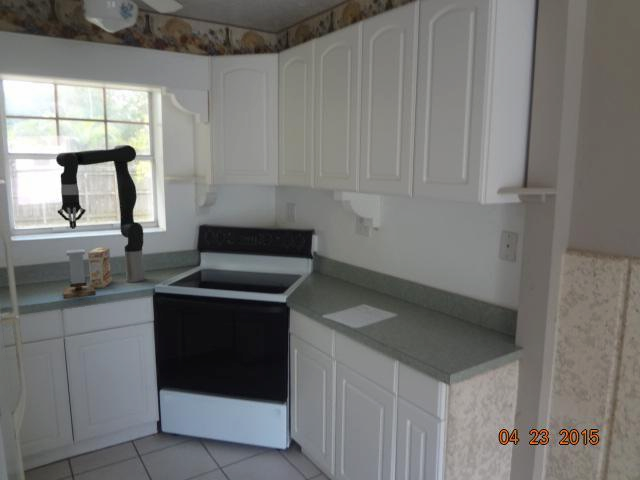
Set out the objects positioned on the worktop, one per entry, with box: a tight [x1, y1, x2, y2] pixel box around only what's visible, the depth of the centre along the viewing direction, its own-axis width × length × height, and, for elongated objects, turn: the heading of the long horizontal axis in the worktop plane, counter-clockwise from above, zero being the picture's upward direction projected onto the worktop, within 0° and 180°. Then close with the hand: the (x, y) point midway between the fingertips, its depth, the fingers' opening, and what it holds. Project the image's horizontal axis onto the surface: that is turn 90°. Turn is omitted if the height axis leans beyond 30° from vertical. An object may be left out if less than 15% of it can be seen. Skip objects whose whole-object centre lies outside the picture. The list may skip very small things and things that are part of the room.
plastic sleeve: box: [65, 248, 86, 284], centre depth 234 cm, size 8×8×16 cm
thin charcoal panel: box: [69, 279, 87, 287], centre depth 235 cm, size 7×7×2 cm
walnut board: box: [62, 284, 96, 299], centre depth 236 cm, size 14×14×2 cm
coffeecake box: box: [87, 246, 113, 289], centre depth 252 cm, size 15×7×20 cm, turn 9°
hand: (73, 228), depth 230 cm, fingers closed
